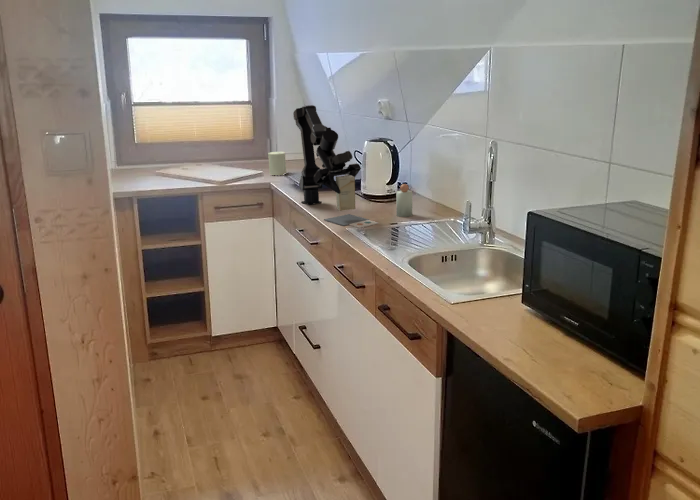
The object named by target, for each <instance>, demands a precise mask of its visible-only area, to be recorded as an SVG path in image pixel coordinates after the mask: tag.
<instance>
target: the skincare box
mask: <svg viewBox="0 0 700 500" xmlns="http://www.w3.org/2000/svg"><path fill="white" fill-rule="evenodd" d="M335 182H336V183H337V185H338V187H339V189H340V192H341V193H340V194H338V193H337V192H335V196H336V197H335V198H336V209H337V210H338V211H340V212H343V211H350V210H351V211H352V210H356V208H357V207H356V191H355V183H356V176H355V177H354V176H352V175H348V176H345V175H339V176H335Z"/></svg>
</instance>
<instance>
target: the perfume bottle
mask: <svg viewBox="0 0 700 500" xmlns="http://www.w3.org/2000/svg"><path fill="white" fill-rule="evenodd" d="M399 188H400V190H397V191H396V194H395V195H396V200H395V201H396V203H395V204H396V216H397V217H401V218H409V217H412V216H413V191H412V190H410V189H409V185H408V184H406V183H403V184H401V185H400V186H399Z"/></svg>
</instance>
